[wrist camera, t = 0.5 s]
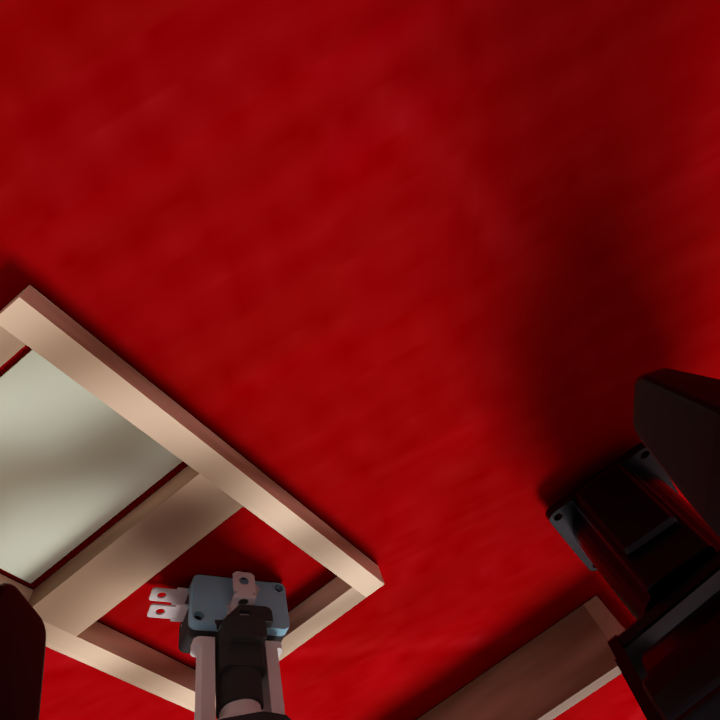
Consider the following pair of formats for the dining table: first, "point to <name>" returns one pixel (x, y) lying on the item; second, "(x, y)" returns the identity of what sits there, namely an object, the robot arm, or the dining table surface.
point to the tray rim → (542, 672)
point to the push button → (231, 643)
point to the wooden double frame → (127, 497)
